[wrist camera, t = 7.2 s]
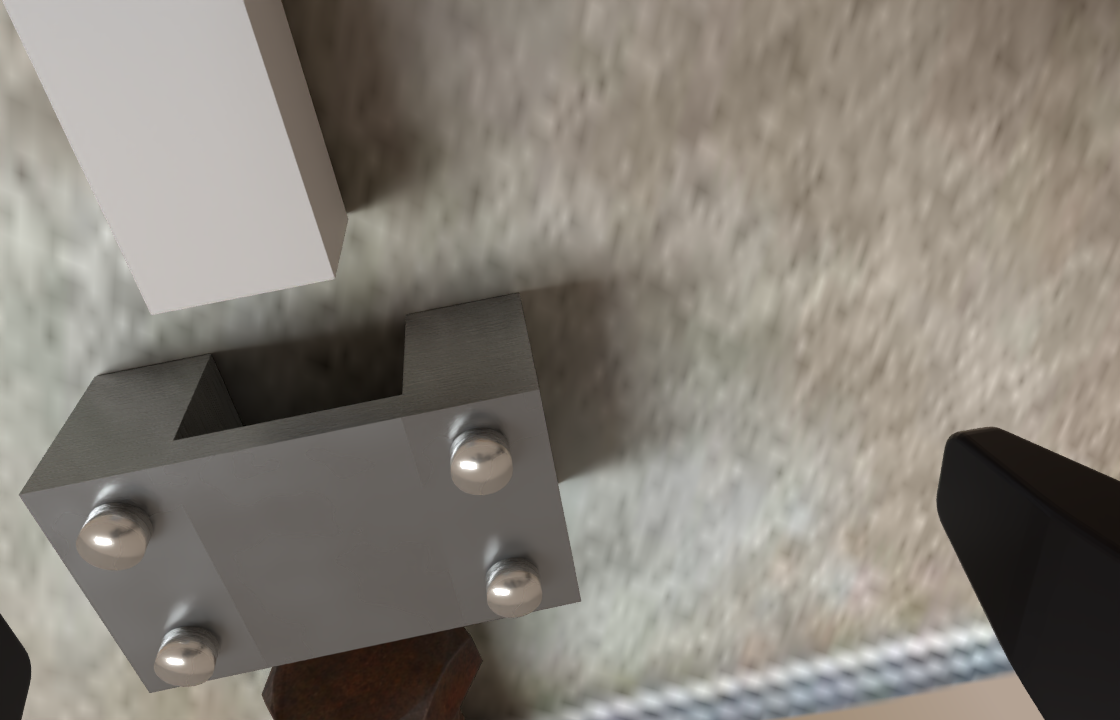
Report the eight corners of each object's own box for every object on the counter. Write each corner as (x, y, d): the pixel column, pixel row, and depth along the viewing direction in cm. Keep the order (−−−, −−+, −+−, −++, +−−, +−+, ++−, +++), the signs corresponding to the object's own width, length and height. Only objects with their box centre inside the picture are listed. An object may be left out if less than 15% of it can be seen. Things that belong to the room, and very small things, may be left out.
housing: (518, 292, 20) (542, 407, 15) (557, 485, 23) (585, 621, 19) (95, 376, 19) (5, 516, 15) (194, 560, 22) (141, 716, 18)
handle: (218, -313, 13) (-3, -496, 6) (371, 213, 18) (336, 428, 11) (-60, -267, 13) (-591, -401, 6) (169, 251, 18) (8, 494, 11)
